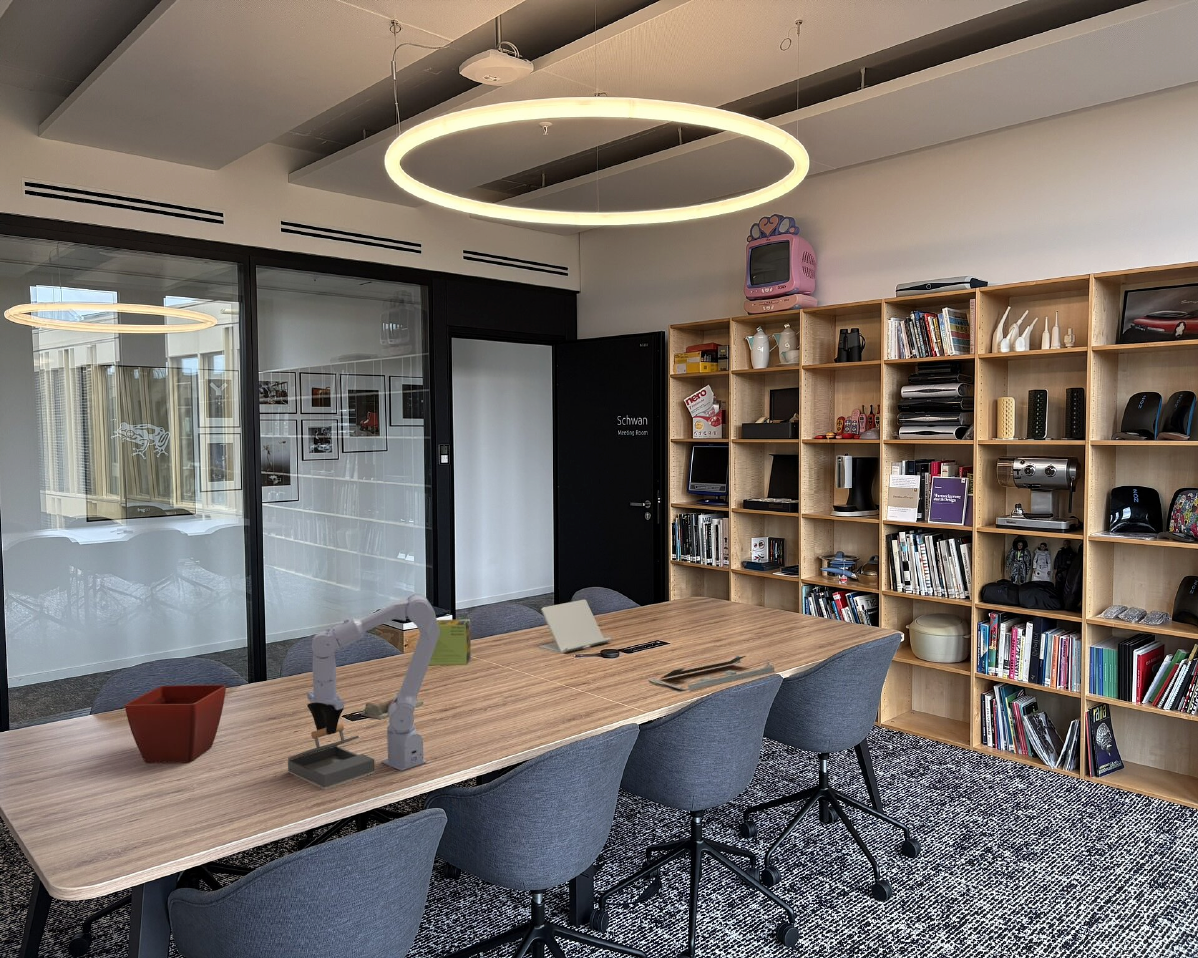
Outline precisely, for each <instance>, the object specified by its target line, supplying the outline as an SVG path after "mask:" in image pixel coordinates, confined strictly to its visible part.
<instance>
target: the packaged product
mask: <svg viewBox="0 0 1198 958" xmlns="http://www.w3.org/2000/svg"><path fill="white" fill-rule="evenodd" d="M397 694H398V692H396V693H393V694H391V695H387V696H383V697H381V698H377V699H374V700H371V701H368V702H366V703H365V707H364V711H360V712H359V715H360V714H361V715H360V716H364V717H367V718H368V717H369V718H373V719H377V720H381V721H382V719H383V720H385V719H387V718H389V716H388V708H389V705H390V704H391V703H392V702H393V701H394V700H395V698H396V696H397ZM423 705H424V700H416V706H415V709H416V708H419V707H422V706H423Z"/></svg>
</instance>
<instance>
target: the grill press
mask: <svg viewBox="0 0 1198 958" xmlns="http://www.w3.org/2000/svg"><path fill="white" fill-rule="evenodd" d="M344 729H345V726H344V725H343V723H338V725H337V729H336V733H338V734H339V739H340V740H339V741H335V742H333V743H329V744H326V745H325V744H324V745H321V744H320V741H319V738H322V737H325V736H328V735H327V732H326V728H324V729H320V730H317V729H316V730H314V731H311V734H310V735H311V738H312V740H314V743H315V747H314V748H311V749H309V750H305V751H303V752H300V753H298V754H295V755H292V756H290V757H287V759H288V760H291V759H295V758H298V757H301V756H305V755H308V754H311V753H315V752H318V751H321V750H325V749H328V748H331V747H335V746H338V747H339V745H343V744H345V743H348V742H352V741H355V740H356V739H359V735H355V736H352V737H350V738H345V736H344V733H343V731H344ZM320 745H321V746H320ZM288 760H287V761H288Z"/></svg>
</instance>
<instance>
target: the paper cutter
mask: <svg viewBox="0 0 1198 958" xmlns="http://www.w3.org/2000/svg"><path fill="white" fill-rule="evenodd" d="M745 657H747V655H744V656H740V655H735V658H733V659H731V660H730V661H729V660H728V661H724V662H719V663H715V664H708V665H705V666H699V667H693V668H690V669H689V668H688V669H686V667H684V668H679V669H675V670H672V671H670V672H668V673H667V674H665V675H664V676H661V677H660V678H659V680H657V679H654V678H650V677H648V680H649V681H651V682H653V683H655V684H661V685H667V686H670V687H673V688H675V689H679V690H682V691H694V690H699V689H703V688H708V687H712V686H716V685H717V686H718V685H720V684H725V683H730V682H735V681H740V680H744V679H748V678H753V677H757V676H763V675H765V674H771V673H774V672H775V666H774V665H771V664H770V661H767V662H766V663H767V664H766V665H764V667H761V668H757V669H753V670H747V671H742V672H738V673H737V671H734V670H731V669H730V670H725V671H724V676H720V677H715V678H713V677H710V676H707V677H701V678H700V681H697V682H692V683H688V685H687V686H688V687H687V688H683V687H679V686H674V685H671V684H668V683H665V682H663V681H660V680H661V679H666V678H671V677H675V676H681V675H685V674H689V673H695V672H701V671H704V670H705V671H706V670H709V669H714V668H719V667H725V666H729V665H733V664H740V663H741V660H742V659H744V658H745ZM685 669H686V670H685Z"/></svg>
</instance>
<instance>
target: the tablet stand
mask: <svg viewBox="0 0 1198 958" xmlns="http://www.w3.org/2000/svg"><path fill="white" fill-rule="evenodd" d="M540 611H541V614H542V615H543V617H544V619H545V622H546V624H547V626H548V629H549V631H550V633H551V635H552V637H553V639H554V641H553V642H550V643H546V644H542V645H539V646H538V648H539V649H542V650H547V651H551V652H556V653H560V654H566V653H571V652H575V651H579V650H582V649H586V648H590V647H593V646H599V645H601V644H602V645H603V644H606V643H608V642H610V641H611V640H612V638H611V636H608V637H604V635H603V634H602V631H601V629H600V627H599V625H598V622H597V621H596V619H595V616H594V614H593V612H592V610H591V608H590V606H589V604H588V601H587V599H580V600H575V601H568V602H565V603H560V604H554V605H548V606H544V607H542V608H540Z"/></svg>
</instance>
